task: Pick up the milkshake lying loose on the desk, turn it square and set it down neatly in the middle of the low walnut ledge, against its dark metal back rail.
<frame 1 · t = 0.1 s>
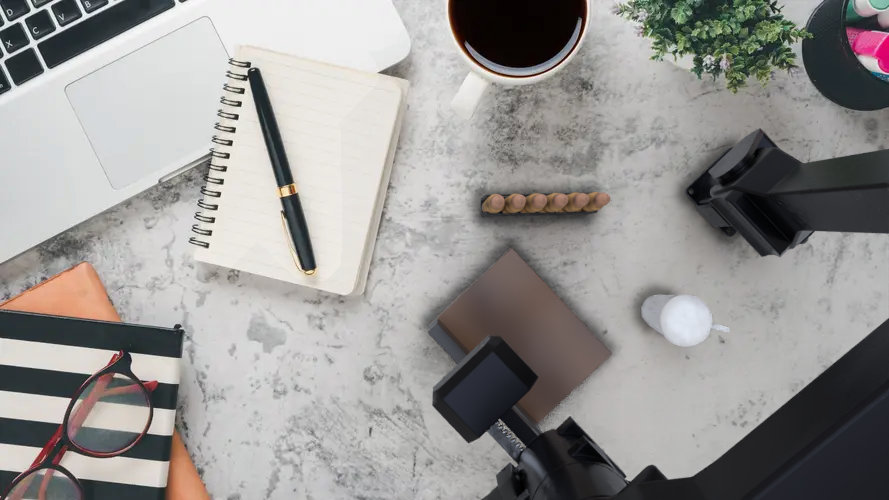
hand: (542, 430, 51), 15 cm above the table, tool pointing down, fingers open, 9 cm apart
walnut board: (517, 336, 65), on the table
milkshake: (660, 311, 65), on the table
ammunition clip: (534, 206, 65), on the table
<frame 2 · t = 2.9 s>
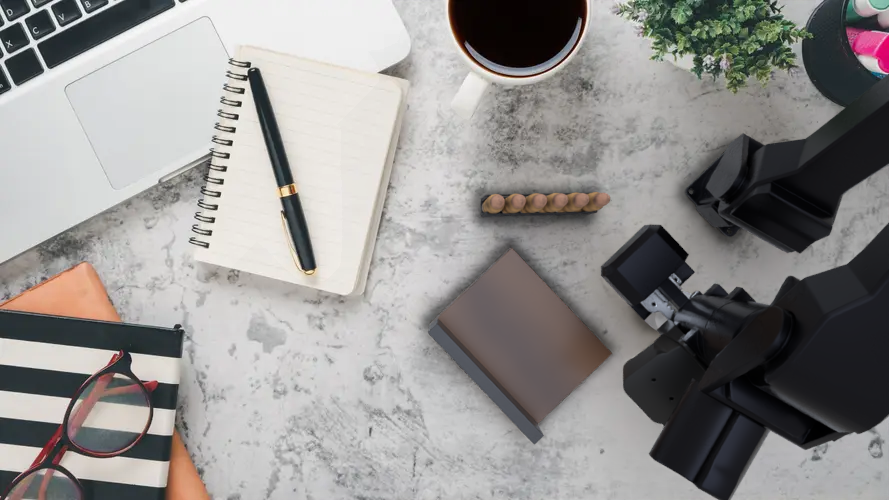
hand: (669, 316, 63), 3 cm above the table, tool pointing down, fingers closed on milkshake, 5 cm apart
milkshake: (660, 311, 65), on the table, touching gripper
everything else where it was.
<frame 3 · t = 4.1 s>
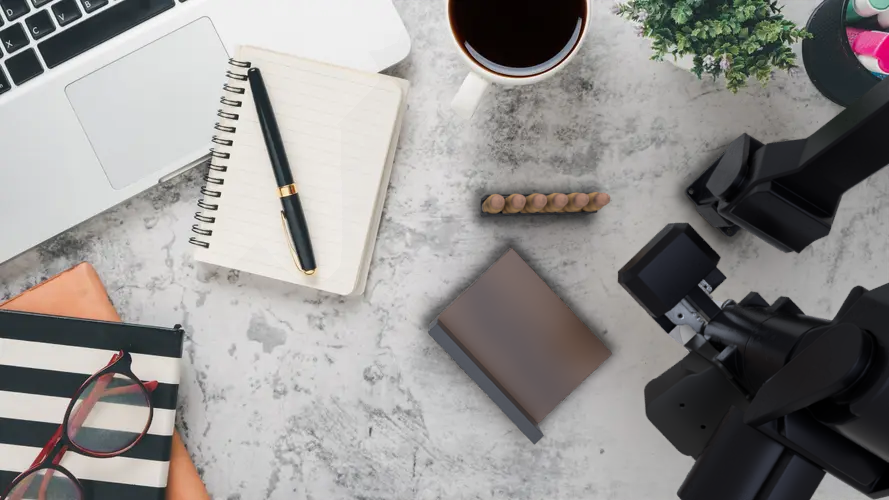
hand: (693, 326, 55), 10 cm above the table, tool pointing down, fingers closed on milkshake, 5 cm apart
milkshake: (681, 320, 58), point 7 cm above the table, touching gripper
everything else where it was.
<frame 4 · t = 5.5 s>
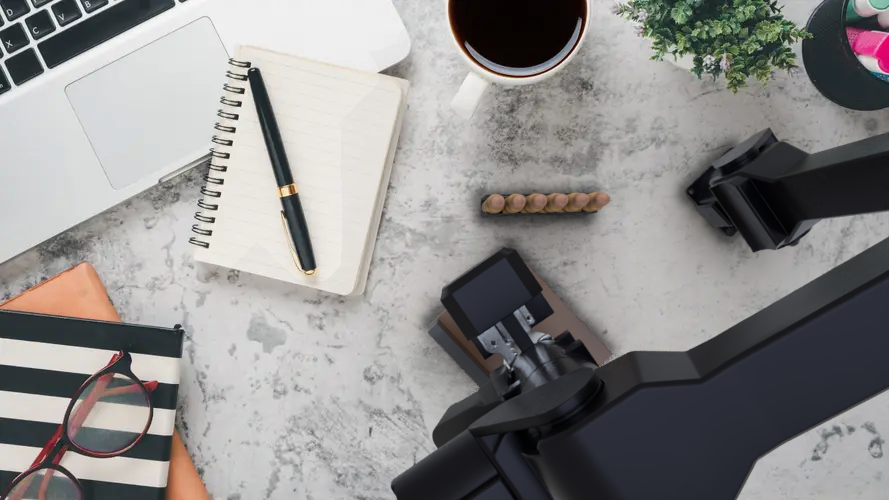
hand: (534, 357, 53), 12 cm above the table, tool pointing down, fingers closed on milkshake, 5 cm apart
milkshake: (529, 348, 56), point 9 cm above the table, touching gripper
everything else where it was.
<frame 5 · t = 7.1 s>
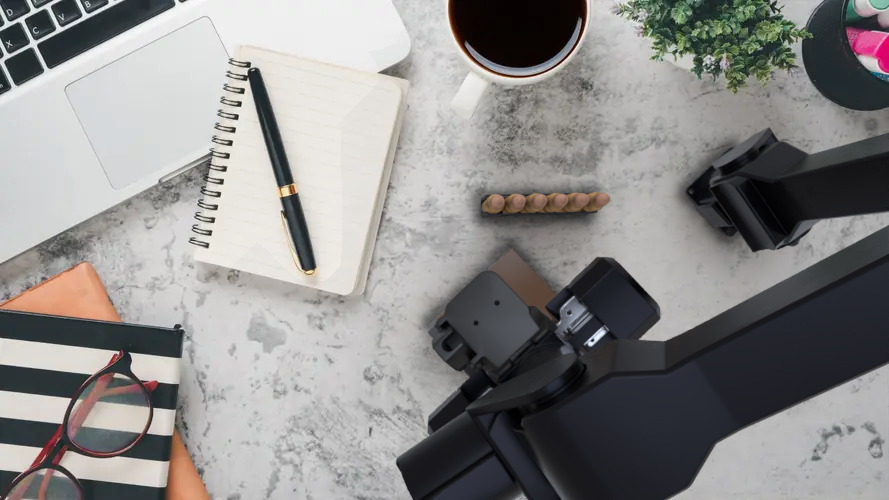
hand: (529, 349, 57), 8 cm above the table, tool pointing down, fingers closed on milkshake, 5 cm apart
milkshake: (528, 344, 60), point 6 cm above the table, touching gripper
everything else where it was.
when the fingers open (5 cm above the table, at t = 8.4 s): milkshake stays where it is, resting on walnut board.
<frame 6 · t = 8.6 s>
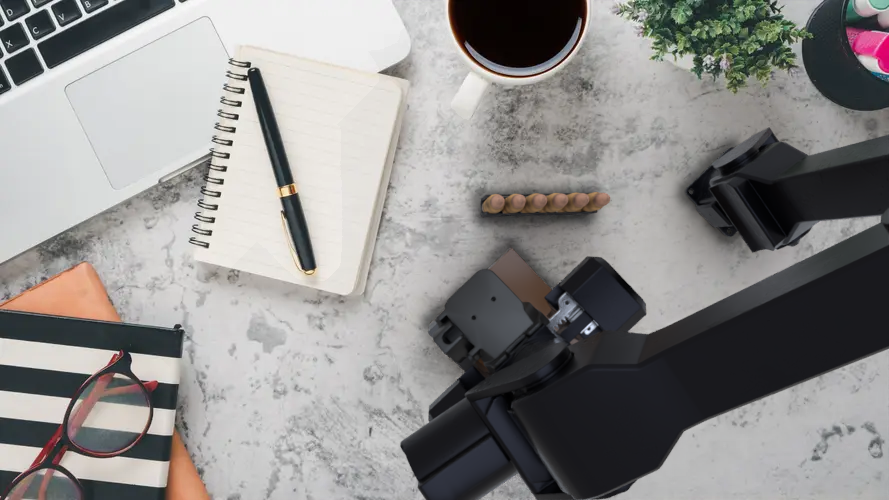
hand: (523, 344, 60), 5 cm above the table, tool pointing down, fingers open, 7 cm apart
milkshake: (523, 338, 63), point 2 cm above the table, touching walnut board
everything else where it was.
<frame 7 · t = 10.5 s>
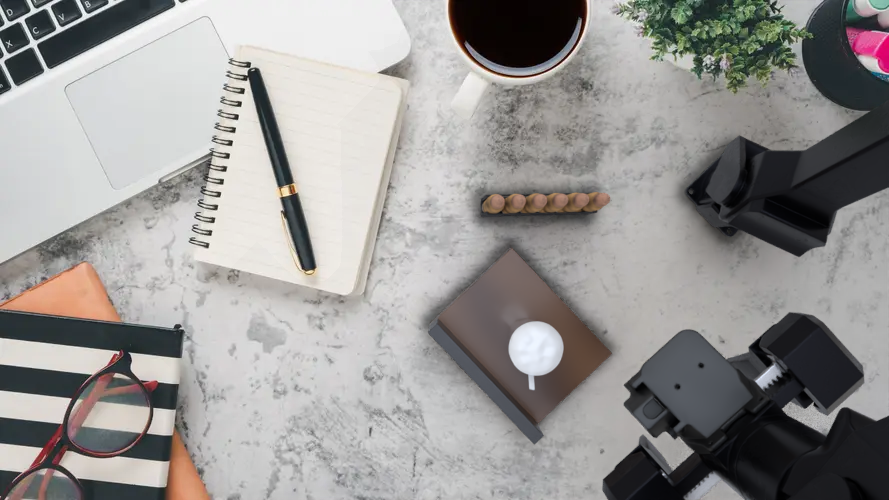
hand: (687, 402, 53), 12 cm above the table, tool pointing down, fingers open, 9 cm apart
nothing on the table moved.
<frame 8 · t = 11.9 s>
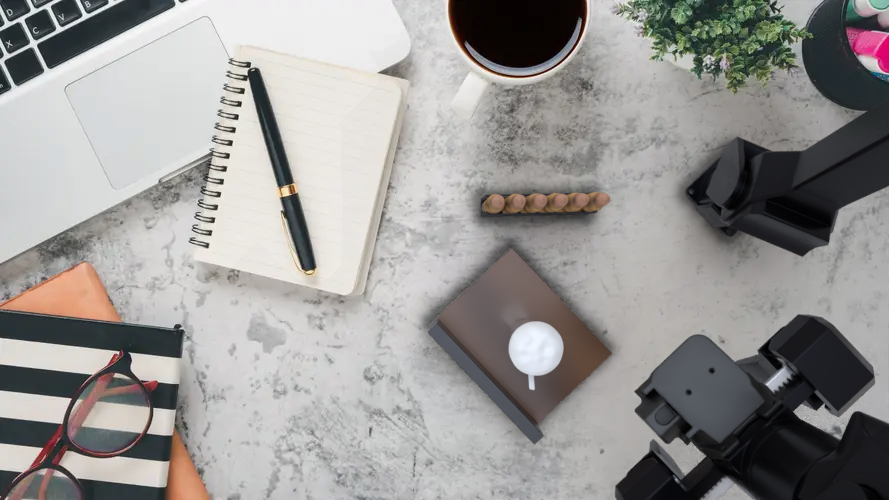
hand: (696, 405, 53), 12 cm above the table, tool pointing down, fingers open, 9 cm apart
nothing on the table moved.
at the end: milkshake inside the target area (0.4 cm from its centre), point 2.3 cm above the table; milkshake tilted 0°; the gripper is holding nothing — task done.
